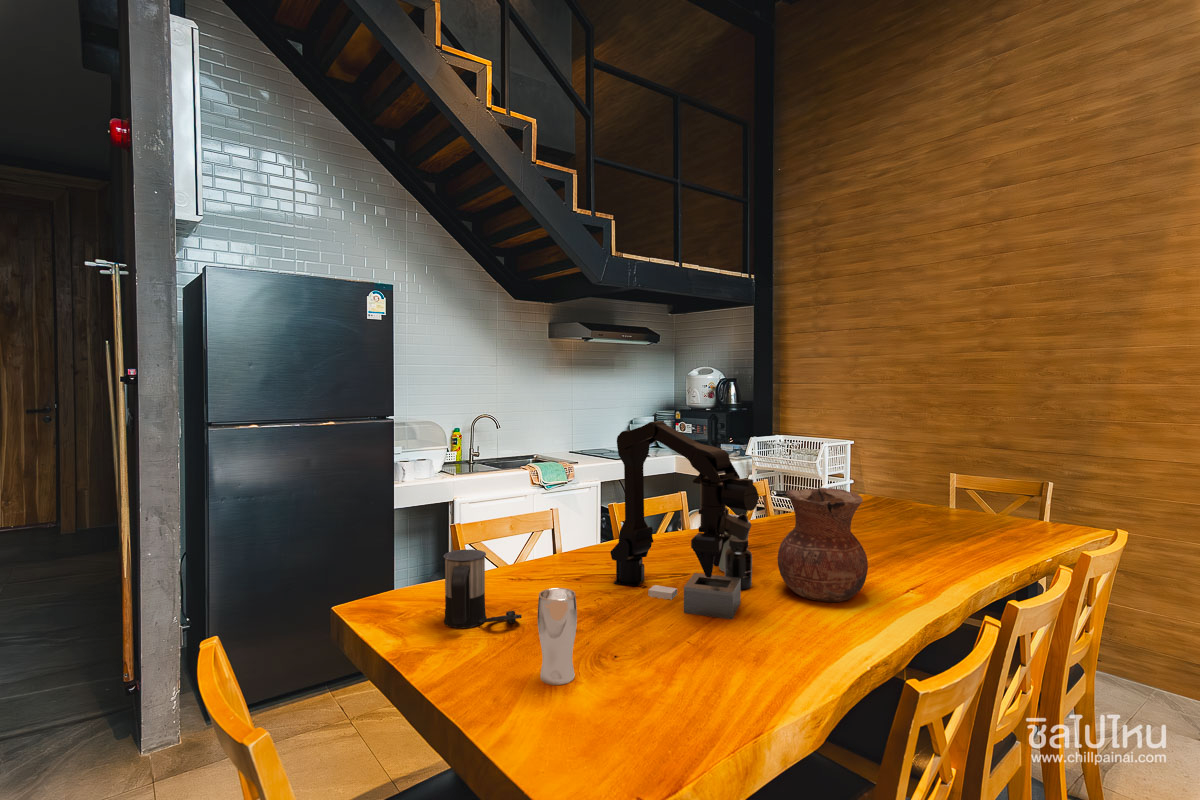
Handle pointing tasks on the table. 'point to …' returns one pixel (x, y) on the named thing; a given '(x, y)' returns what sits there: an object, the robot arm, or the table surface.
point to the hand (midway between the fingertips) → (712, 571)
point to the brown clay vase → (823, 546)
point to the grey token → (662, 592)
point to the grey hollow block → (712, 596)
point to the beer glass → (557, 634)
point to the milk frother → (467, 590)
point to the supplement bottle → (739, 562)
